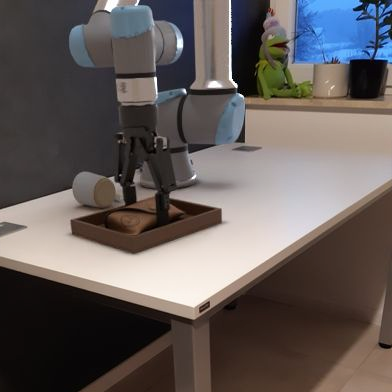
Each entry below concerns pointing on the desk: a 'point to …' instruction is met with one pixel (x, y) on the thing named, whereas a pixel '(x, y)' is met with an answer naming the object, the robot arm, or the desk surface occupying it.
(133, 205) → the sunglasses case
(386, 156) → the desk surface
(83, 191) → the ceramic mug
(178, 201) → the valet tray
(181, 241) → the desk surface
